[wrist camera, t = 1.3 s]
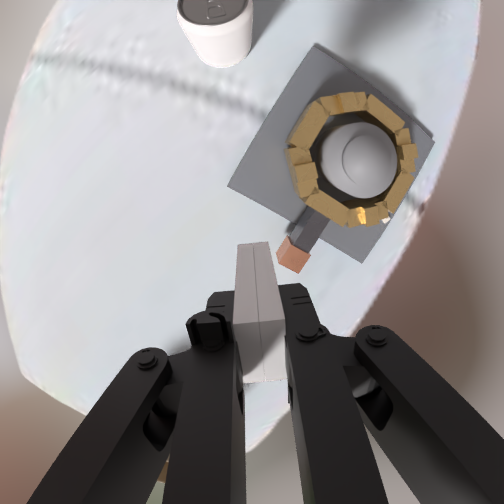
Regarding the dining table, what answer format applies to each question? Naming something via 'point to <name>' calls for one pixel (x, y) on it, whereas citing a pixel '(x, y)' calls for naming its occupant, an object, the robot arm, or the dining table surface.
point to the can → (218, 29)
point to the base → (327, 153)
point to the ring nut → (305, 174)
